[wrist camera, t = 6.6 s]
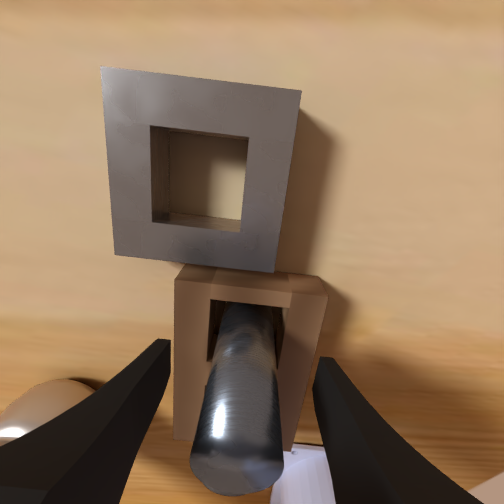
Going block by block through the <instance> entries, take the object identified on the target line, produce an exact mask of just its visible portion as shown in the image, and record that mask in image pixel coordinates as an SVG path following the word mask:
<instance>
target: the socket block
mask: <svg viewBox="0 0 504 504" xmlns="http://www.w3.org/2000/svg"><path fill="white" fill-rule="evenodd" d="M100 69H101V82H102V95H103V108H104V121H105V134H106V147H107V160H108V173H109V186H110V199H111V212H112V225H113V238H114V251H115V255H119V256H128V257H137V258H145V259H154V260H163V261H172V262H181V263H189V264H198V265H207V266H216V267H225V268H233V269H242V270H251V271H260V272H269V273H274V268H275V262H276V255H277V249H278V242H279V236H280V229H281V223H282V216H283V210H284V203H285V197H286V190H287V184H288V177H289V171H290V164H291V158H292V151H293V145H294V138H295V132H296V125H297V119H298V112H299V106H300V99H301V93H302V91H301V90H293V89H285V88H276V87H268V86H260V85H252V84H244V83H235V82H227V81H219V80H211V79H202V78H194V77H186V76H178V75H170V74H161V73H153V72H145V71H137V70H128V69H120V68H112V67H104V66H100ZM169 131H173V132H182V133H190V134H199V135H207V136H215V137H224V138H232V139H240V140H249V144H248V154H247V164H246V174H245V184H244V195H243V205H242V215H241V220H233V219H224V218H216V217H207V216H198V215H190V214H181V213H172V212H169Z"/></svg>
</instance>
